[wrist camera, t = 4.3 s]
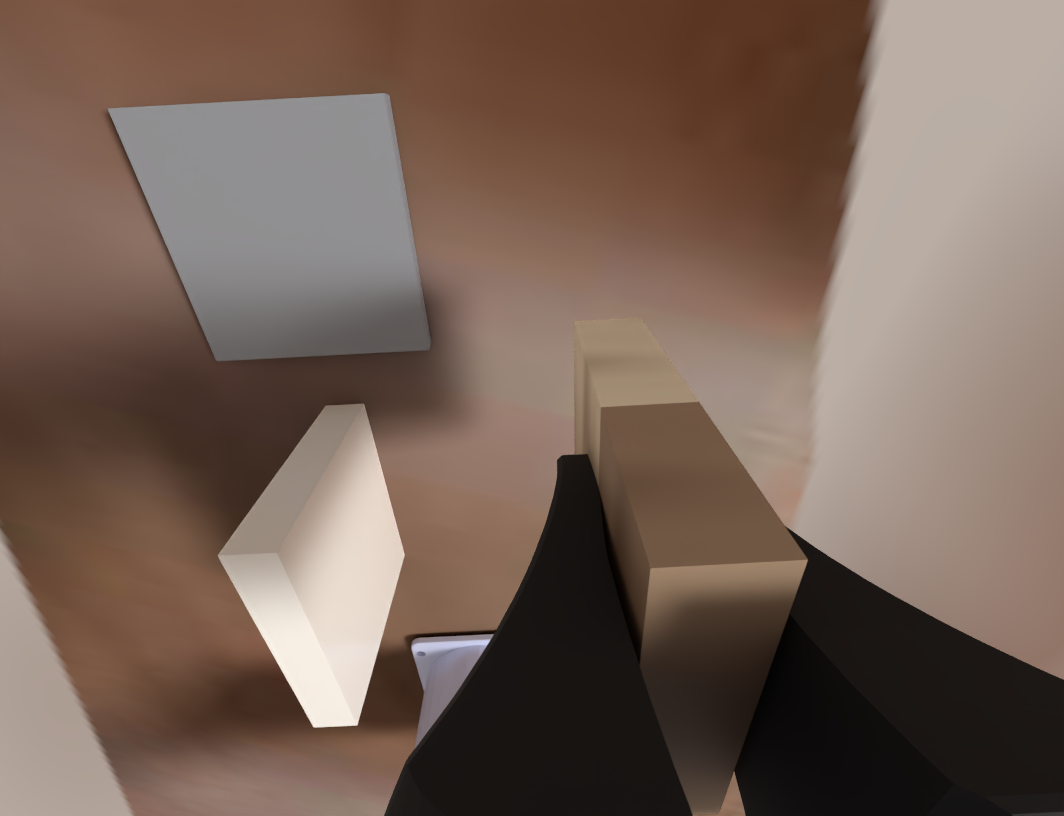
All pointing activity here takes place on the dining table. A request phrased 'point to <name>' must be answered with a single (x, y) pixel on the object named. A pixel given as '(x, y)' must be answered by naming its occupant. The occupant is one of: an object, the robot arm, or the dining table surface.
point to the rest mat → (284, 222)
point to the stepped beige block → (683, 549)
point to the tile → (322, 564)
